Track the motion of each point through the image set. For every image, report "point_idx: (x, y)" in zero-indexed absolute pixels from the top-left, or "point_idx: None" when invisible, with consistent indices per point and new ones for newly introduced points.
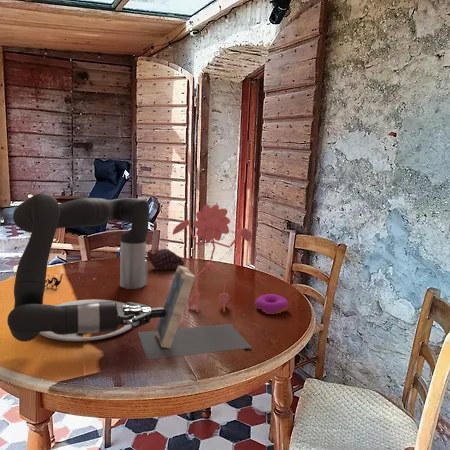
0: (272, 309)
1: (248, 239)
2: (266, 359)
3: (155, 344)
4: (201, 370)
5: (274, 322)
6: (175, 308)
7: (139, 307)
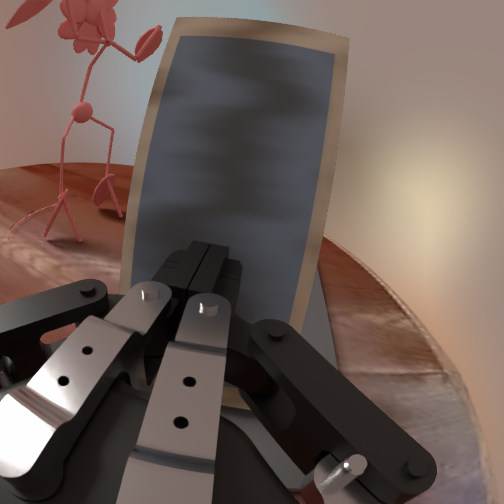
0: None
1: (143, 57)
2: (353, 259)
3: None
4: (405, 355)
5: None
6: (327, 211)
7: (130, 339)
